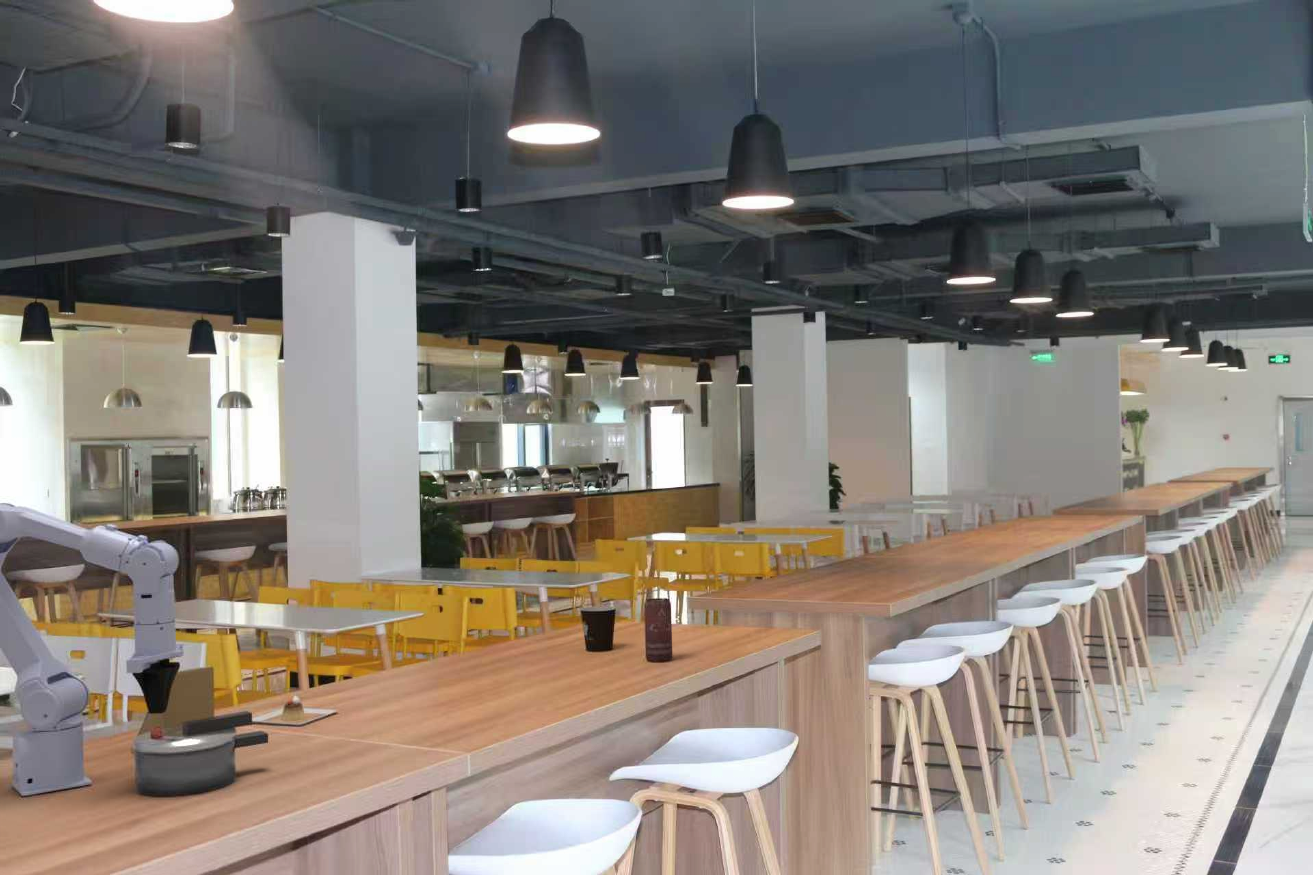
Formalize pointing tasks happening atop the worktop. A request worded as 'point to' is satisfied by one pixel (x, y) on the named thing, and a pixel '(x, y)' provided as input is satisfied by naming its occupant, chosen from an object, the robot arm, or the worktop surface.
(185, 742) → the cooker lid
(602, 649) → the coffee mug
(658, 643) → the can
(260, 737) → the cooker pot
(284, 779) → the worktop surface
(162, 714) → the sandwich container
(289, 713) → the dessert
